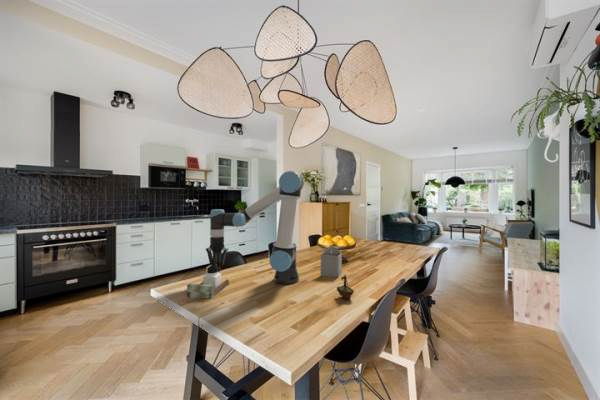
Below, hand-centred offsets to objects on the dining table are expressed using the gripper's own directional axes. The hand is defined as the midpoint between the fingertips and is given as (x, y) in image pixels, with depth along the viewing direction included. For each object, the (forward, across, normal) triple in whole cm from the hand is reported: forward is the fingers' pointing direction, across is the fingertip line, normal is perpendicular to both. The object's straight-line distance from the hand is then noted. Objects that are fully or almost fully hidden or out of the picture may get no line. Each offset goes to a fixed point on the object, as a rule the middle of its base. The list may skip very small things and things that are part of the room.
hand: (216, 277), depth 137 cm
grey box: (+4, -67, -27) cm, 72 cm away
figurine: (+4, -72, +7) cm, 73 cm away
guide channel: (+4, 0, +9) cm, 9 cm away
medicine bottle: (+4, 0, +5) cm, 7 cm away
